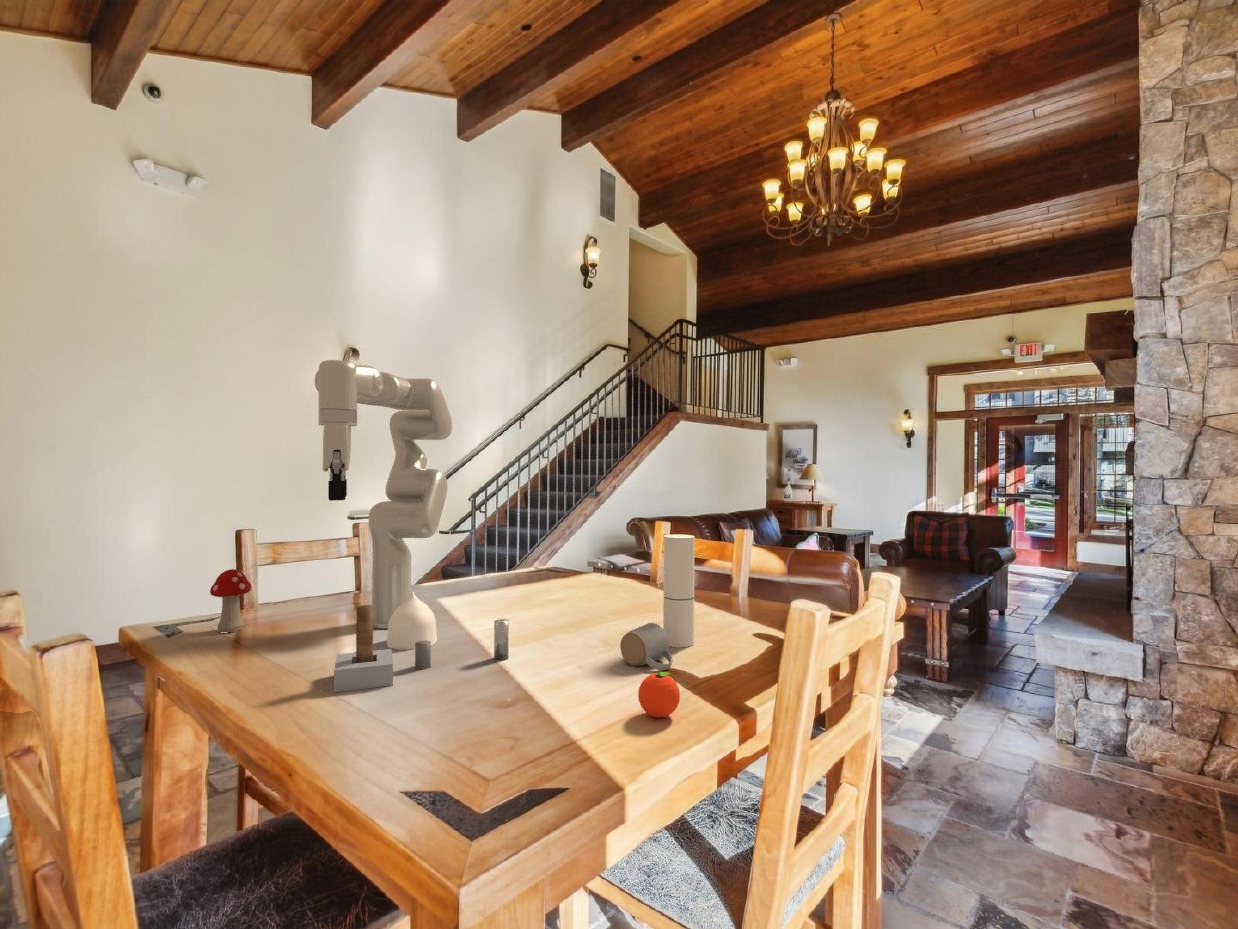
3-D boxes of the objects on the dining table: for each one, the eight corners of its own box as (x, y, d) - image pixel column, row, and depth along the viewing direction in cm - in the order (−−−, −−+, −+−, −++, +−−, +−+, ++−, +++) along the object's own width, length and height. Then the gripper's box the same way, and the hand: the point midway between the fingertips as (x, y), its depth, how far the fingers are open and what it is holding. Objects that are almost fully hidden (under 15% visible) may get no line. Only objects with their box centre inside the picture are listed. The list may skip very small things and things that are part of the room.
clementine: (658, 702, 107) (658, 662, 107) (691, 713, 103) (691, 670, 103) (629, 717, 101) (629, 673, 101) (663, 728, 97) (663, 683, 97)
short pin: (414, 665, 126) (414, 641, 126) (429, 664, 127) (430, 639, 127) (415, 670, 123) (415, 645, 123) (431, 668, 124) (431, 643, 124)
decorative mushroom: (217, 626, 155) (217, 567, 155) (255, 624, 157) (256, 565, 157) (203, 637, 145) (204, 573, 145) (244, 634, 148) (245, 572, 148)
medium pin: (492, 657, 132) (493, 619, 132) (506, 655, 133) (507, 618, 133) (495, 661, 129) (495, 623, 129) (509, 659, 130) (509, 622, 130)
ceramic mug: (617, 663, 129) (617, 626, 128) (642, 654, 135) (642, 619, 135) (656, 676, 121) (657, 637, 121) (681, 666, 128) (682, 629, 127)
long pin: (356, 678, 118) (356, 605, 118) (372, 676, 119) (373, 604, 119) (355, 683, 115) (356, 609, 115) (372, 681, 116) (373, 607, 116)
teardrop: (376, 647, 138) (376, 594, 138) (404, 634, 149) (405, 585, 149) (420, 651, 136) (420, 597, 136) (445, 638, 146) (446, 587, 146)
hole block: (336, 674, 120) (337, 654, 120) (391, 668, 124) (391, 649, 124) (333, 692, 111) (334, 670, 111) (392, 685, 114) (393, 664, 114)
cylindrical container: (693, 639, 147) (694, 534, 147) (694, 648, 140) (695, 538, 140) (663, 638, 147) (664, 534, 147) (662, 646, 140) (663, 537, 140)
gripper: (321, 420, 138) (321, 496, 138) (315, 416, 122) (315, 502, 122) (357, 421, 141) (357, 495, 141) (356, 417, 125) (356, 501, 125)
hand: (337, 498), depth 131 cm, fingers open, 9 cm apart
